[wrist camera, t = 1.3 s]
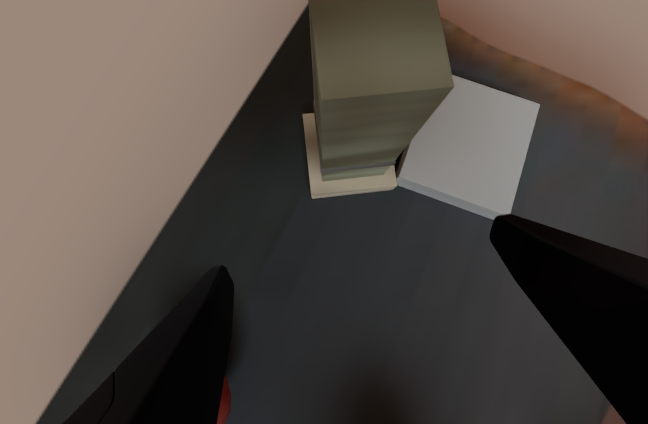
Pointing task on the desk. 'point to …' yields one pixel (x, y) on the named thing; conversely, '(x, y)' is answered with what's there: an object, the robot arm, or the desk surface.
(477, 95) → the plate
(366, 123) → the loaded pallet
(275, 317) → the desk surface
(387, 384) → the desk surface
